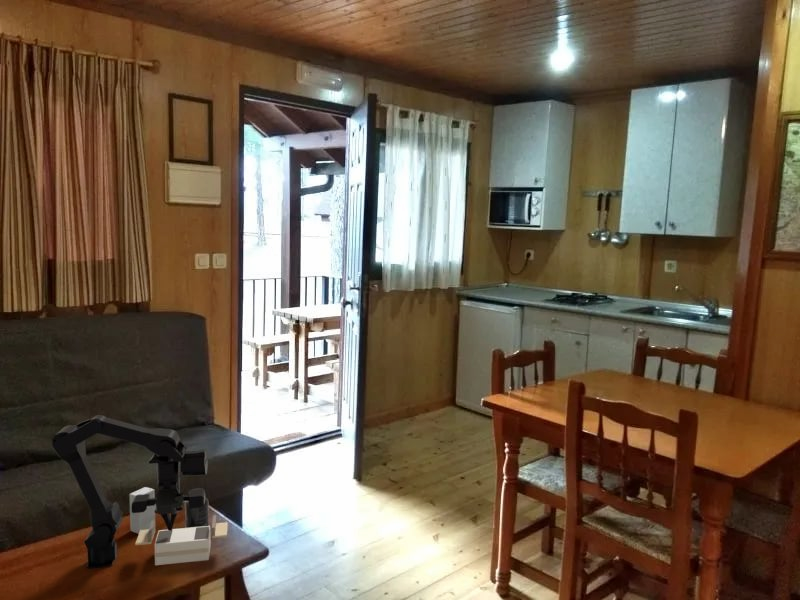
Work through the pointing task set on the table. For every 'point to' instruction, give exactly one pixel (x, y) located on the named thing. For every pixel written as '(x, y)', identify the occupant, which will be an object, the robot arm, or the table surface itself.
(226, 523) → the flap far
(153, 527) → the flap near
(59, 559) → the table surface
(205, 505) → the supplement bottle
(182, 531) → the carton
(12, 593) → the table surface
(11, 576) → the table surface
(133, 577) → the table surface
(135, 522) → the skincare box
